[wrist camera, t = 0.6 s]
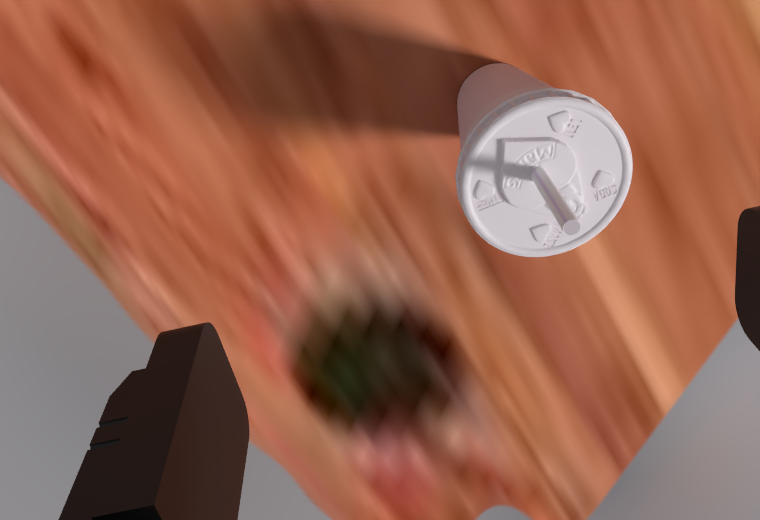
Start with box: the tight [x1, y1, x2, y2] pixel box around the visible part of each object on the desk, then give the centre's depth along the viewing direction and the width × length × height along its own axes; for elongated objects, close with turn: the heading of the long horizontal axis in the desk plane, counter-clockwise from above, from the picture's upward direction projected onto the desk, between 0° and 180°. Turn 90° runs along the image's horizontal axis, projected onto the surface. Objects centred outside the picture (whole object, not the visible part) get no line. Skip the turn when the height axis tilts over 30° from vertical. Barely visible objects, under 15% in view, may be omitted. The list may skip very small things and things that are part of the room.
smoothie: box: [455, 63, 633, 257], centre depth 28 cm, size 6×6×14 cm
